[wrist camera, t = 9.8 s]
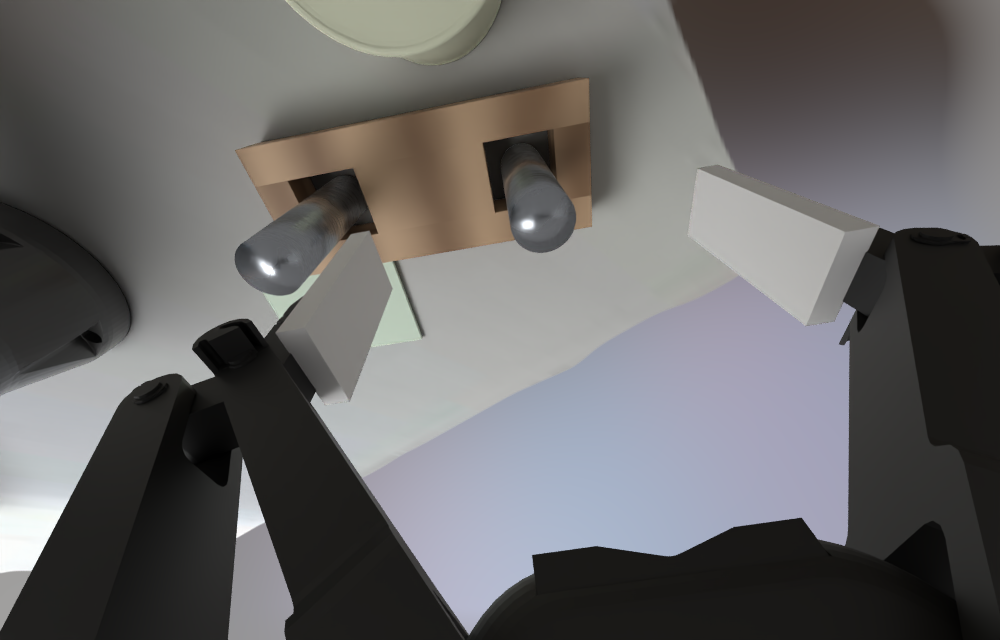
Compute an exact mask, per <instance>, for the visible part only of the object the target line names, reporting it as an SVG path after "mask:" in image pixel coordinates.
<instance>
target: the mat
mask: <svg viewBox="0 0 1000 640" xmlns="http://www.w3.org/2000/svg"><path fill="white" fill-rule="evenodd" d="M383 266H384V268H385V271H386V273H387V276H388V278H389V281H390V283H391V286H392V288H393V289H392V292H391V295H390V297H389V300H388V302H387V305H386V308H385V310H384V313H383V316H382V318H381V321H380V323H379V326H378V329H377V331H376V334H375V337H374V339H373V342H372V344H371V347H377V346H383V345H389V344H396V343H402V342H408V341H415V340H421V339H422V334H421V332H420V329H419V326H418V324H417V321H416V318H415V316H414V313H413V310H412V308H411V305H410V302H409V300H408V297H407V294H406V292H405V289H404V287H403V284H402V281H401V279H400V276H399V273H398V271H397V268H396V265H395V263H394V261H392V262H386V263H383ZM319 275H320V274H317V275H311V276H309V277H308V278H307V279H306V281H305V282H304V283H303V284H302V285H301V286H300V288H299V289H298V290H297V291H295V292H294V293H292V294H289V295H284V296H276V295H270V294H267V293H264V292H262V293H263V294H264V296H265V297H266V299H267V300H268V302H269V303H270V305H271V306H272V308H273V310H274V311H275V313H276V314H277V316H278V317H279V319H280V318H281V317H283V314H284V313H285V312H286V310H287V309H288V308H289V307H290V305H292V304H293V303H294V302H296V301H297V300H298V299H300V298H301V297H303V296H304V295H305V294H306V292H307V291H308V290H309V288H310V287H311V286H312V284H313V283H314V282H315V281H316V279H317V278H318V277H319Z"/></svg>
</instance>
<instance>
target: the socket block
mask: <svg viewBox="0 0 1000 640" xmlns="http://www.w3.org/2000/svg"><path fill="white" fill-rule="evenodd" d="M545 130H547V134H548V146H549V159H550V170H551V172H552V173H553V175H554V176H555V178H556V179H557V181H558V182H559V184H560V185H561V187H562V188H563V190H564V191H565V192H566V194H567V195H568V197H569V198H570V200H571V201H572V203H573V205H574V208H575V211H576V224H575V228H574V230H575V229H581V228H586V227H592V205H591V155H590V105H589V78H574V79H569V80H564V81H559V82H554V83H550V84H545V85H540V86H535V87H530V88H525V89H520V90H515V91H510V92H505V93H501V94H496V95H491V96H486V97H481V98H476V99H471V100H466V101H461V102H456V103H452V104H447V105H442V106H437V107H432V108H427V109H422V110H417V111H412V112H407V113H403V114H398V115H393V116H388V117H383V118H378V119H373V120H368V121H363V122H359V123H354V124H349V125H344V126H339V127H334V128H329V129H324V130H319V131H314V132H310V133H305V134H300V135H295V136H290V137H285V138H280V139H275V140H270V141H265V142H261V143H257V144H254V145H251V146H247V147H244V148H241V149H237V150H235V151H236V153H237V155H238V157H239V159H240V160H241V162H242V164H243V166H244V168H245V169H246V171H247V173H248V175H249V177H250V178H251V180H252V182H253V184H254V186H255V188H256V189H257V191H258V193H259V195H260V197H261V198H262V200H263V202H264V204H265V206H266V207H267V209H268V211H269V213H270V215H271V216H272V218H273V220H274V221H275V220H276V219H278V218H279V217H280V216H282V215H283V214H285V213H286V212H287V211H289V210H290V209H292V208H293V207H294V206H296V205H297V204H299V203H300V202H301V201H303V200H304V199H306V198H307V197H309V196H310V195H311V194H313V193H314V192H316V190H315V188H314V186H313V183H312V181H311V179H310V176H315V175H320V174H325V173H330V172H335V171H340V170H345V169H351V168H353V169H354V171H355V174H356V177H357V179H358V182H359V184H360V187H361V190H362V192H363V195H364V197H365V200H366V203H367V205H368V208H369V210H370V213H371V215H372V218H373V221H374V222H372V223H367V224H361V225H356V226H352V227H351V228H350V229H349V231H348V232H347V233H346V234H345V235H344V236H343V238H342V239H341V240H340V241H339V242H338V243H337V245H336V246H335V247H334V248H333V249H332V250H331V251H330V253H329V254H328V255H327V256H326V257H325V258H324V260H323V261H322V262H321V263H320V264H319V265H318V267H317V268H316V269H315V270H314V271H313V272H312V274H311V275H317V274H321V273H322V271H323V270H324V269H325V268H326V266H327V265H328V264H329V262H330V261H331V260H332V258H333V257H334V256H335V254H336V253H337V252H338V251H339V249H340V248H341V247H342V245H343V244H344V243H345V241H346V240H347V239H348V238H349V236H350V235H351V234H354V233H360V232H365V231H370V233H371V236H372V238H373V241H374V243H375V246H376V248H377V251H378V253H379V256H380V258H381V261H382V263H386V262H392V261H397V260H403V259H409V258H415V257H420V256H426V255H432V254H437V253H443V252H449V251H455V250H460V249H466V248H472V247H478V246H483V245H489V244H495V243H500V242H506V241H512V240H515V238H514V237H513V234H512V232H511V227H510V221H509V215H508V209H507V203H506V198H503V199H498V200H494V197H493V191H492V186H491V180H490V175H489V169H488V163H487V158H486V152H485V146H484V142H489V141H494V140H499V139H504V138H510V137H515V136H520V135H525V134H530V133H535V132H540V131H545ZM311 275H310V276H311Z"/></svg>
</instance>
